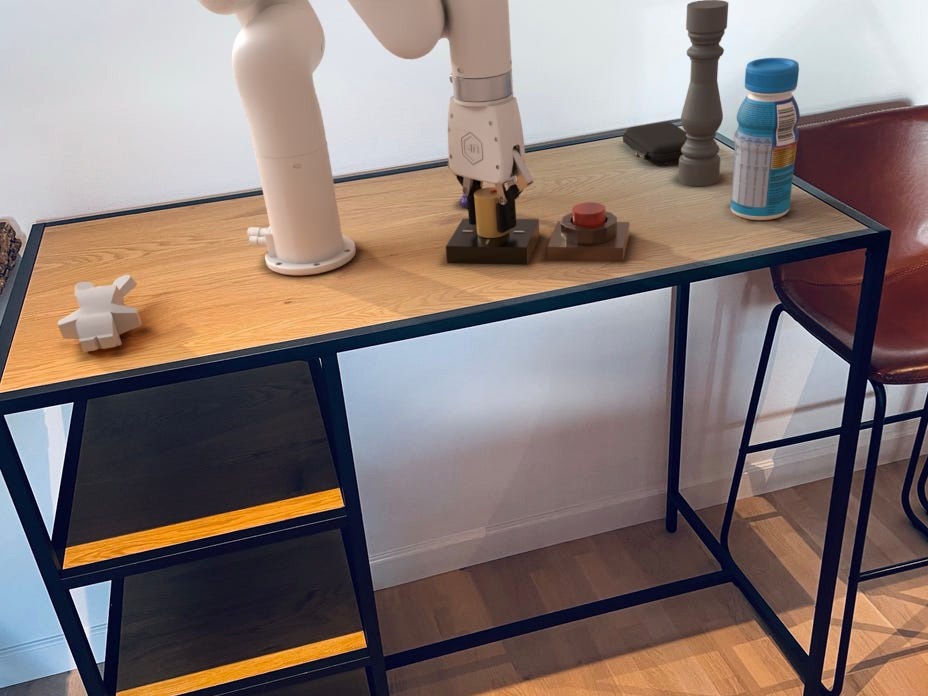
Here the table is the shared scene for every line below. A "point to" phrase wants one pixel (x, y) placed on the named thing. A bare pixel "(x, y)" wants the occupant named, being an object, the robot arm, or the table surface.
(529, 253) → the dimmer
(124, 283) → the white blocky figure
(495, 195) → the dimmer knob
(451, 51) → the robot arm
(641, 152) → the carrying case
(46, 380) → the table surface
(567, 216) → the switch box
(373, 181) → the table surface
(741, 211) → the beverage bottle
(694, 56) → the candle holder
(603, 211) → the power button
